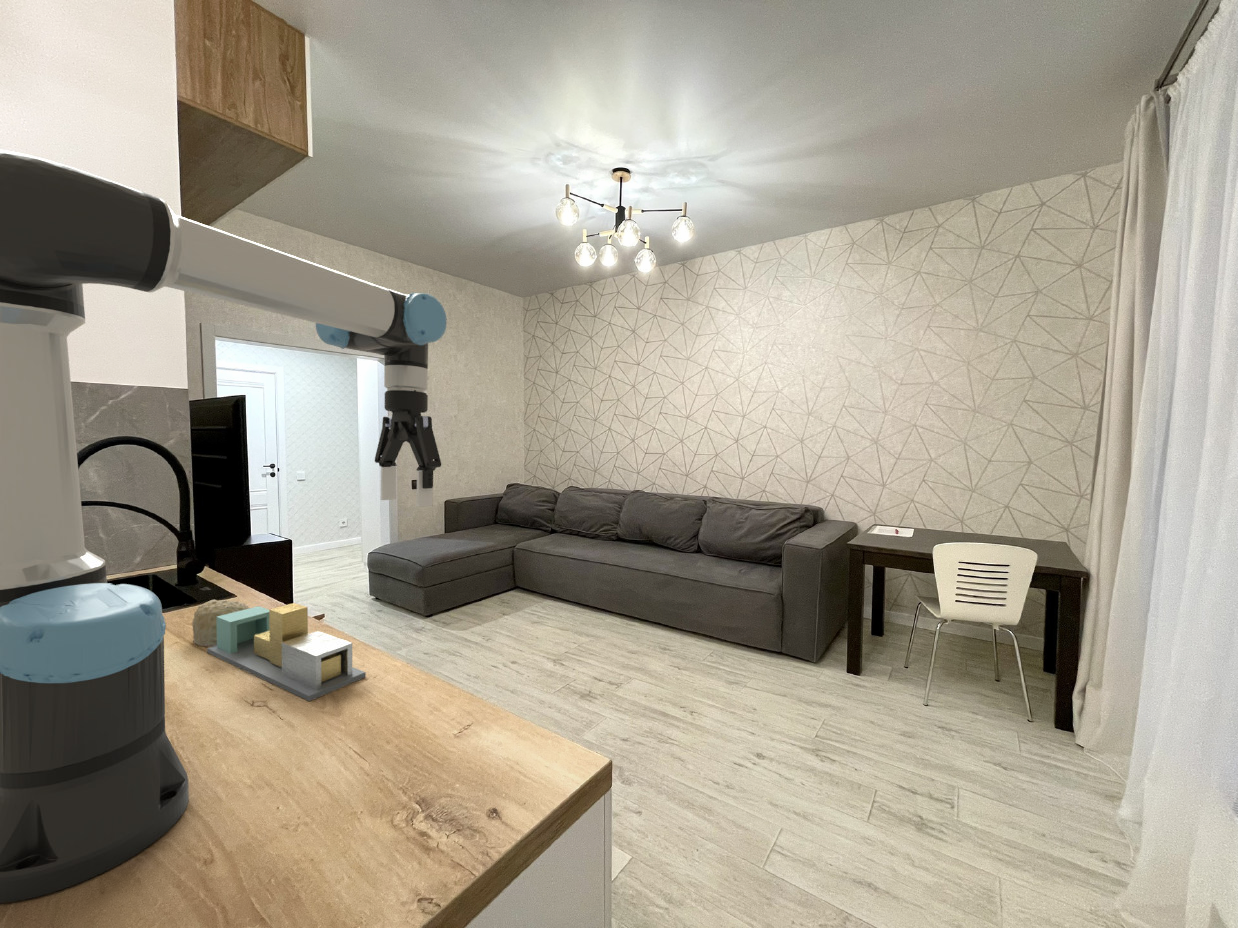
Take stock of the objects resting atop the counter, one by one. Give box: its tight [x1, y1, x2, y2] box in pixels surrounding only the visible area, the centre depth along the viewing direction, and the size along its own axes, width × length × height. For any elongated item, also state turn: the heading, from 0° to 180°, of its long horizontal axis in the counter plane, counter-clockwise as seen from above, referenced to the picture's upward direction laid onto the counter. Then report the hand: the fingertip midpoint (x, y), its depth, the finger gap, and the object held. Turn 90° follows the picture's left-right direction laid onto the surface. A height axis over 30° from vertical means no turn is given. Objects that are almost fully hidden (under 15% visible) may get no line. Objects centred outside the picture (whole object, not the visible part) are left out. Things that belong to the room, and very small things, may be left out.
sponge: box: [192, 599, 250, 647], centre depth 97 cm, size 9×10×10 cm
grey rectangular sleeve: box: [282, 630, 353, 689], centre depth 81 cm, size 6×10×5 cm, turn 61°
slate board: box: [206, 638, 367, 702], centre depth 86 cm, size 9×32×1 cm, turn 61°
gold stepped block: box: [254, 602, 341, 682], centre depth 84 cm, size 4×20×9 cm, turn 61°
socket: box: [216, 605, 269, 654], centre depth 92 cm, size 7×5×6 cm
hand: (405, 503), depth 96 cm, fingers open, 13 cm apart
